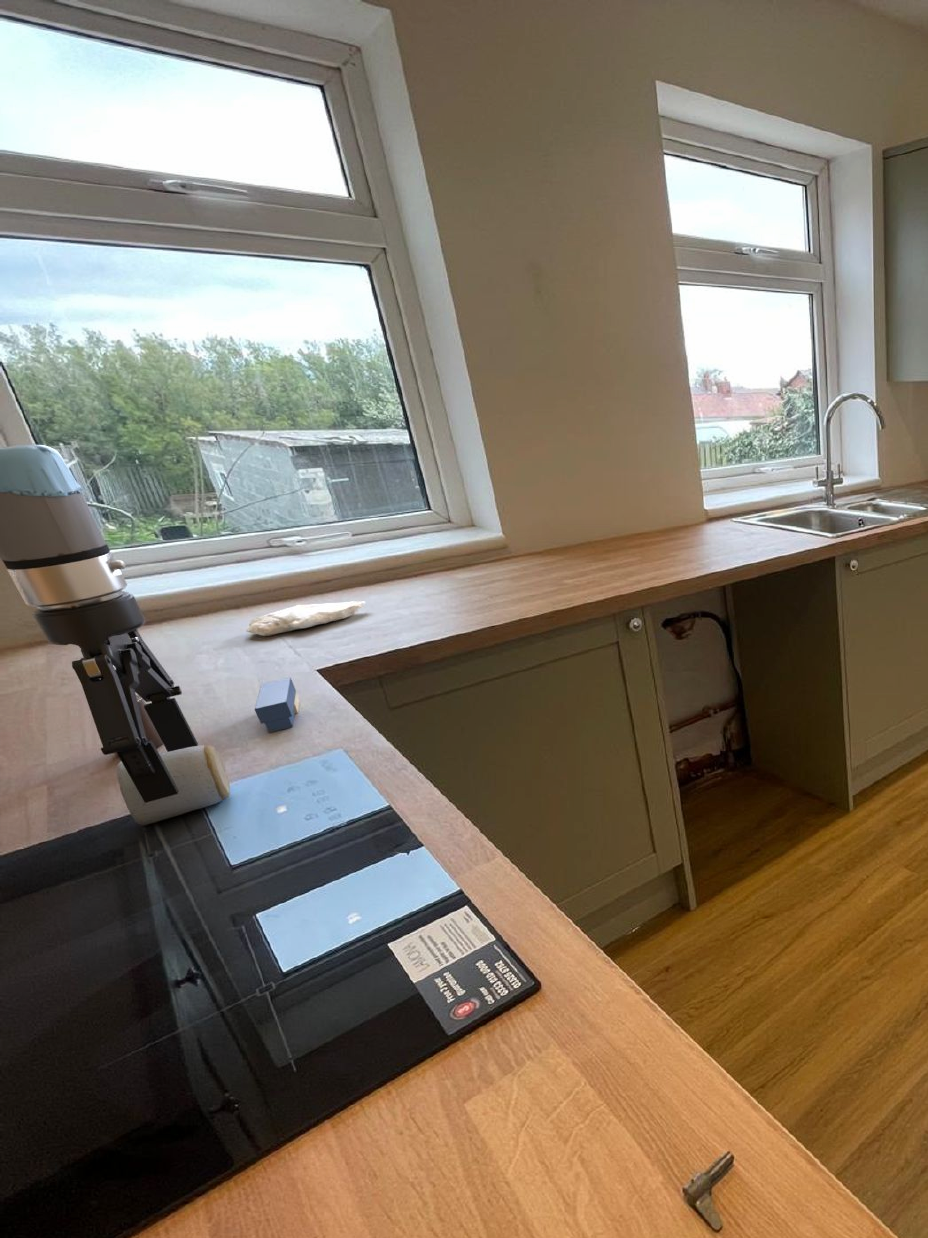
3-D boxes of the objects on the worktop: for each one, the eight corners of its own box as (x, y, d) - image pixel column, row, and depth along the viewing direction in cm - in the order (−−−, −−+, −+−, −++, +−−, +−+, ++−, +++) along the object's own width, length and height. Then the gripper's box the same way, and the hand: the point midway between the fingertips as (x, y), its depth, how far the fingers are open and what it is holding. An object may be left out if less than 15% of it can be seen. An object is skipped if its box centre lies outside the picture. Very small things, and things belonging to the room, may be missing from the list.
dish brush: (296, 726, 104) (286, 701, 102) (265, 734, 102) (254, 708, 100) (300, 700, 112) (290, 677, 111) (271, 707, 110) (261, 683, 109)
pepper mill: (111, 761, 97) (78, 701, 93) (120, 746, 100) (89, 688, 97) (161, 749, 99) (131, 690, 96) (167, 735, 103) (139, 678, 99)
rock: (248, 628, 146) (364, 606, 158) (249, 645, 136) (373, 620, 148) (241, 611, 144) (359, 589, 156) (242, 627, 135) (367, 603, 147)
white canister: (235, 807, 85) (208, 750, 82) (141, 837, 80) (108, 778, 77) (234, 774, 92) (209, 721, 89) (147, 800, 87) (118, 744, 84)
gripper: (99, 620, 68) (198, 807, 76) (153, 568, 87) (228, 722, 95) (-16, 640, 64) (101, 835, 72) (67, 581, 83) (152, 741, 91)
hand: (173, 771), depth 84 cm, fingers open, 13 cm apart
